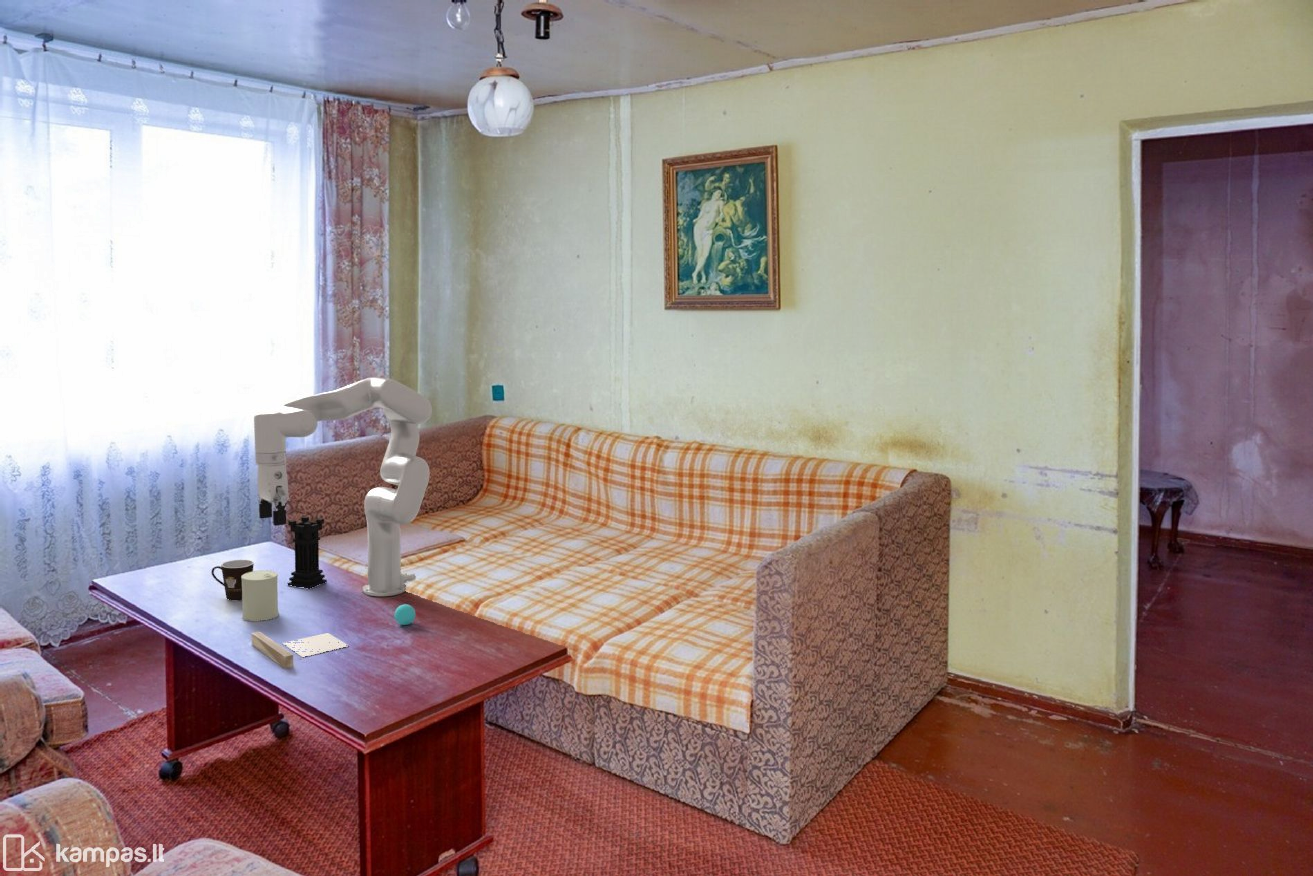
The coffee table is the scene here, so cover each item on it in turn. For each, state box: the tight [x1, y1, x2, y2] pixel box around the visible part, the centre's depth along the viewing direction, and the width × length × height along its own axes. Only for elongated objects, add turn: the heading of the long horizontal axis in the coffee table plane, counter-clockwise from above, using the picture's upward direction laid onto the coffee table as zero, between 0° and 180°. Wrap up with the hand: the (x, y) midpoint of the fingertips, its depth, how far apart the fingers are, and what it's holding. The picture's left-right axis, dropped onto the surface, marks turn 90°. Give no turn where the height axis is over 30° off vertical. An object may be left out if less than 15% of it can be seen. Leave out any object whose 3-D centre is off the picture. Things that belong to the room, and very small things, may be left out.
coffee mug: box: [211, 559, 255, 601], centre depth 269 cm, size 12×9×10 cm
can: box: [241, 570, 279, 622], centre depth 253 cm, size 9×9×12 cm
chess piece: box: [286, 516, 328, 590], centre depth 282 cm, size 8×8×20 cm
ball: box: [393, 603, 416, 626], centre depth 252 cm, size 6×6×6 cm
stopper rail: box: [251, 631, 294, 670], centre depth 227 cm, size 2×20×3 cm, turn 44°
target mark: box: [281, 632, 349, 658], centre depth 235 cm, size 12×12×1 cm
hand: (272, 521), depth 247 cm, fingers open, 9 cm apart
